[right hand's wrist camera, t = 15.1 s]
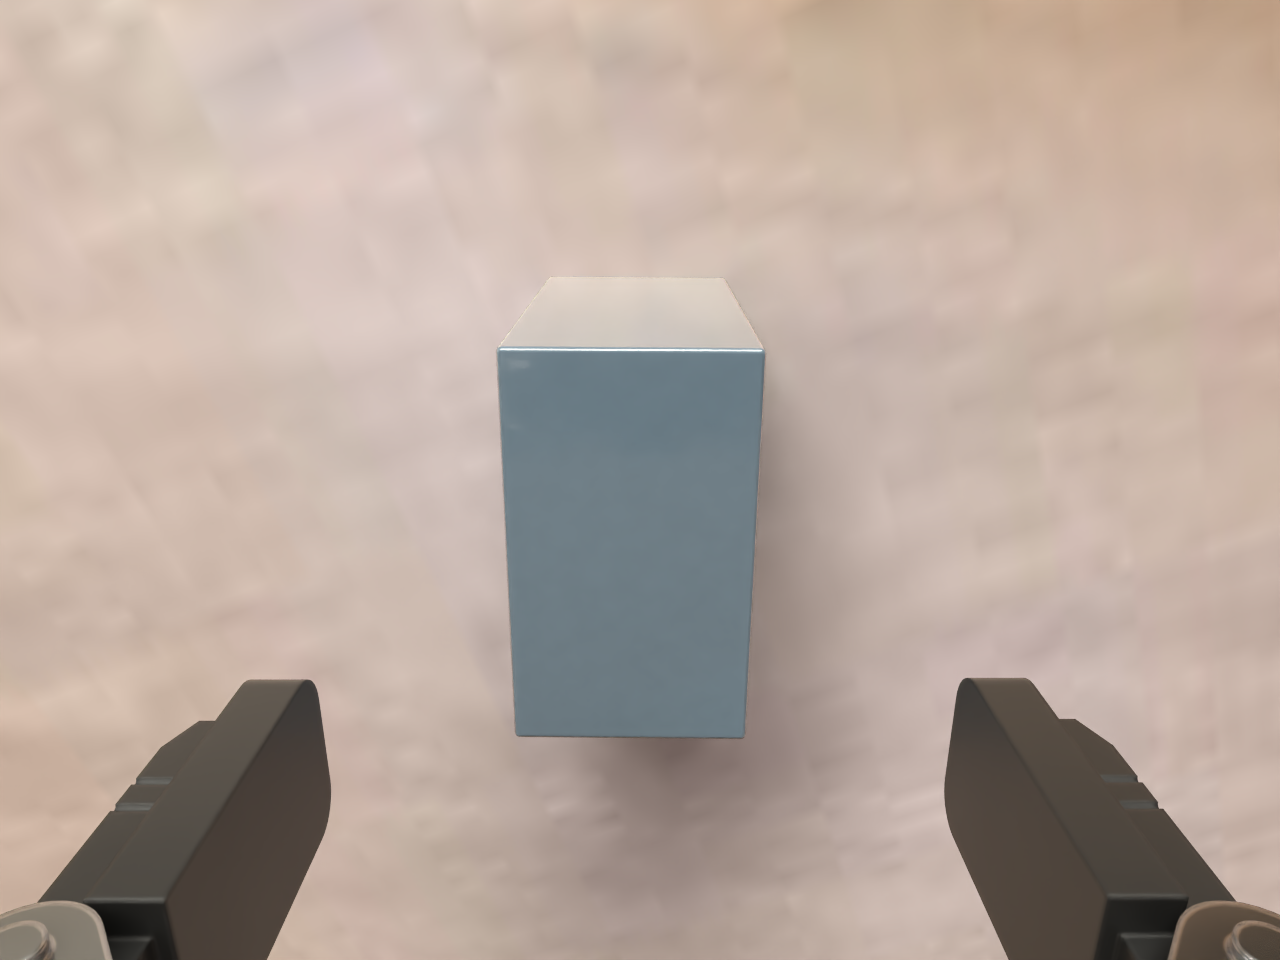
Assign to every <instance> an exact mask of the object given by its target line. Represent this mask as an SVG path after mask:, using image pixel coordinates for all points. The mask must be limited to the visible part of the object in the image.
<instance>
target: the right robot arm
mask: <svg viewBox="0 0 1280 960" xmlns="http://www.w3.org/2000/svg"><path fill="white" fill-rule="evenodd" d="M944 794H945V807H946V814H947V819H948V823H949V827H950V830H951V833H952V835H953V838H954V840H955V842H956V844H957V847H958V849H959V851H960V853H961V856H962V858H963V860H964V862H965V864H966V867H967V869H968V871H969V873H970V875H971V878H972V880H973V882H974V884H975V886H976V889H977V891H978V893H979V895H980V897H981V900H982V902H983V904H984V906H985V908H986V911H987V913H988V915H989V917H990V919H991V922H992V924H993V926H994V928H995V930H996V933H997V935H998V937H999V939H1000V942H1001V944H1002V946H1003V948H1004V950H1005V953H1006V955H1007V957H1008V959H1009V960H1280V915H1279V914H1276V913H1274V912H1272V911H1269V910H1266V909H1263V908H1260V907H1257V906H1253V905H1249V904H1245V903H1240V902H1236V900H1235V899H1234V898H1233V897H1232V895H1231V894H1230V893H1229V892H1228V890H1227V889H1226V888H1225V887H1224V885H1223V884H1222V883H1221V881H1220V880H1219V879H1218V878H1217V876H1216V875H1215V874H1214V873H1213V871H1212V870H1211V869H1210V868H1209V866H1208V865H1207V864H1206V862H1205V861H1204V860H1203V859H1202V857H1201V856H1200V855H1199V854H1198V852H1197V851H1196V850H1195V849H1194V847H1193V846H1192V845H1191V843H1190V842H1189V841H1188V840H1187V838H1186V837H1185V836H1184V835H1183V833H1182V832H1181V831H1180V830H1179V828H1178V827H1177V826H1176V824H1175V823H1174V822H1173V821H1172V819H1171V818H1170V817H1169V816H1168V814H1167V813H1166V812H1165V811H1164V809H1159V808H1158V802H1157V800H1156V799H1155V798H1154V797H1153V795H1152V794H1151V793H1150V792H1149V790H1148V789H1147V788H1146V787H1145V785H1144V784H1143V783H1138V780H1137V775H1136V774H1135V773H1134V771H1133V770H1132V769H1131V768H1130V766H1129V765H1128V764H1127V762H1126V761H1125V760H1124V759H1123V757H1122V756H1121V755H1120V754H1119V752H1118V751H1117V750H1116V749H1115V747H1114V746H1113V745H1112V744H1110V743H1109V742H1107V741H1106V740H1104V739H1103V738H1102V737H1100V736H1099V735H1097V734H1096V733H1094V732H1093V731H1092V730H1090V729H1089V728H1087V727H1086V726H1084V725H1083V724H1081V723H1080V722H1079V721H1077V720H1076V719H1059V718H1058V717H1057V716H1056V714H1055V713H1054V712H1053V710H1052V709H1051V708H1050V706H1049V705H1048V703H1047V702H1046V701H1045V699H1044V698H1043V697H1042V695H1041V694H1040V692H1039V691H1038V690H1037V688H1036V687H1035V686H1034V684H1033V683H1032V682H1031V681H1030V680H1028V679H1026V678H965V679H963V680H962V682H961V683H960V685H959V688H958V691H957V696H956V703H955V711H954V718H953V725H952V732H951V740H950V747H949V754H948V761H947V768H946V776H945V787H944ZM330 803H331V783H330V775H329V768H328V761H327V754H326V747H325V739H324V732H323V725H322V718H321V711H320V704H319V697H318V692H317V689H316V687H315V684H314V683H313V682H312V681H311V680H248V681H246V682H245V683H243V685H242V686H241V687H240V688H239V690H238V691H237V692H236V694H235V695H234V696H233V698H232V699H231V700H230V702H229V703H228V704H227V706H226V707H225V708H224V710H223V711H222V713H221V714H220V715H219V717H218V718H217V719H216V721H199V722H197V723H196V724H194V725H193V726H191V727H190V728H188V729H187V730H186V731H184V732H183V733H181V734H180V735H178V736H177V737H175V738H174V739H173V740H171V741H170V742H168V743H167V744H165V745H164V746H162V747H161V748H160V749H159V751H158V752H157V753H156V754H155V756H154V757H153V758H152V759H151V761H150V762H149V763H148V764H147V766H146V767H145V768H144V769H143V771H142V772H141V773H140V774H139V776H138V777H137V778H136V784H135V785H131V786H130V787H129V788H128V790H127V791H126V792H125V793H124V795H123V796H122V797H121V798H120V800H119V801H118V802H117V803H116V808H115V811H110V812H109V813H108V815H107V816H106V817H105V818H104V820H103V821H102V822H101V823H100V825H99V826H98V827H97V828H96V830H95V831H94V832H93V833H92V835H91V836H90V837H89V838H88V840H87V841H86V842H85V843H84V845H83V846H82V847H81V849H80V850H79V851H78V852H77V854H76V855H75V856H74V857H73V859H72V860H71V861H70V862H69V864H68V865H67V866H66V867H65V869H64V870H63V871H62V872H61V874H60V875H59V876H58V877H57V879H56V880H55V881H54V882H53V884H52V885H51V886H50V887H49V889H48V890H47V891H46V892H45V894H44V895H43V896H42V897H41V899H40V900H39V901H38V902H37V903H35V904H31V905H27V906H23V907H20V908H17V909H14V910H11V911H8V912H6V913H4V914H1V915H0V960H267V958H268V956H269V954H270V951H271V949H272V947H273V945H274V943H275V941H276V938H277V936H278V934H279V932H280V930H281V928H282V925H283V923H284V921H285V919H286V917H287V914H288V912H289V910H290V908H291V906H292V904H293V901H294V899H295V897H296V895H297V893H298V890H299V888H300V886H301V884H302V882H303V880H304V877H305V875H306V873H307V871H308V869H309V867H310V864H311V862H312V860H313V858H314V856H315V853H316V851H317V849H318V847H319V845H320V843H321V840H322V838H323V836H324V833H325V830H326V826H327V822H328V817H329V811H330Z"/></svg>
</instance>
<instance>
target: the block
mask: <svg viewBox="0 0 1280 960" xmlns="http://www.w3.org/2000/svg"><path fill="white" fill-rule="evenodd" d="M496 359H497V379H498V399H499V419H500V439H501V460H502V480H503V500H504V520H505V540H506V561H507V581H508V601H509V621H510V641H511V661H512V682H513V702H514V722H515V733H516V735H517V736H519V737H599V738H703V739H742V738H744V736H745V734H746V717H747V699H748V680H749V661H750V643H751V624H752V606H753V587H754V569H755V550H756V531H757V513H758V494H759V476H760V457H761V439H762V420H763V401H764V383H765V364H766V352H765V349H764V347H763V346H762V344H761V342H760V340H759V339H758V337H757V335H756V333H755V331H754V330H753V328H752V326H751V324H750V323H749V321H748V319H747V317H746V316H745V314H744V312H743V310H742V309H741V307H740V305H739V303H738V302H737V300H736V298H735V296H734V294H733V293H732V291H731V289H730V287H729V286H728V284H727V282H726V280H725V279H724V278H693V277H549V279H548V280H547V281H546V283H545V284H544V285H543V287H542V288H541V289H540V291H539V292H538V293H537V295H536V296H535V297H534V299H533V300H532V302H531V303H530V304H529V306H528V307H527V308H526V310H525V311H524V312H523V314H522V315H521V316H520V318H519V319H518V320H517V322H516V323H515V325H514V326H513V327H512V329H511V330H510V331H509V333H508V334H507V335H506V337H505V338H504V339H503V341H502V342H501V344H500V345H499V346H498V348H497V350H496Z"/></svg>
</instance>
